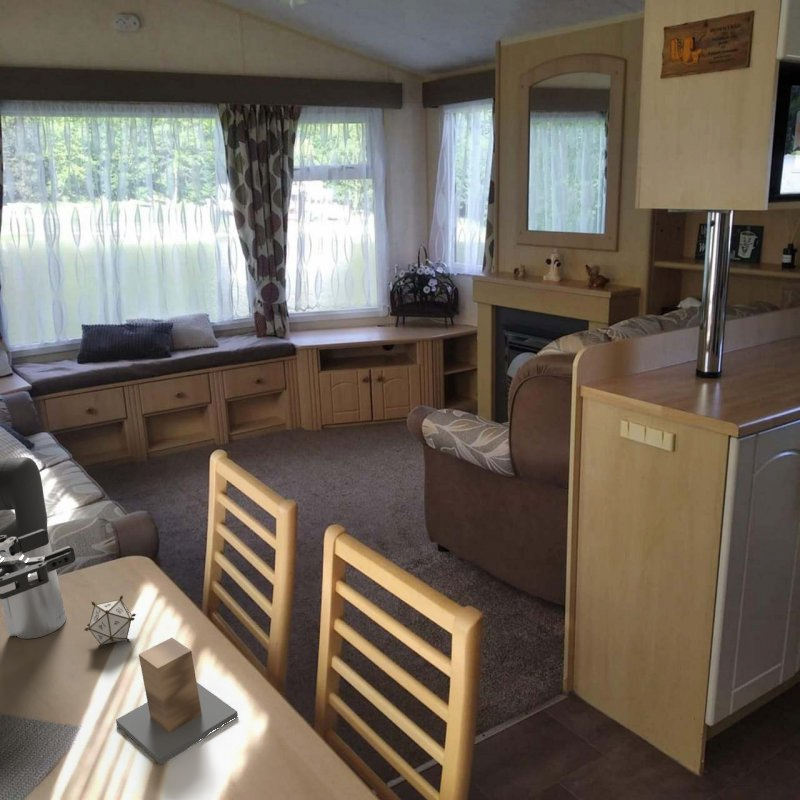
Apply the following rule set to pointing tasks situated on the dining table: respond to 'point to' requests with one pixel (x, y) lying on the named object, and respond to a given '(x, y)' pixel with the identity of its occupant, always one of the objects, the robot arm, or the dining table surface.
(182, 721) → the walnut block
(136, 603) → the dining table surface
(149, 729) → the rubber mat
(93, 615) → the game die
